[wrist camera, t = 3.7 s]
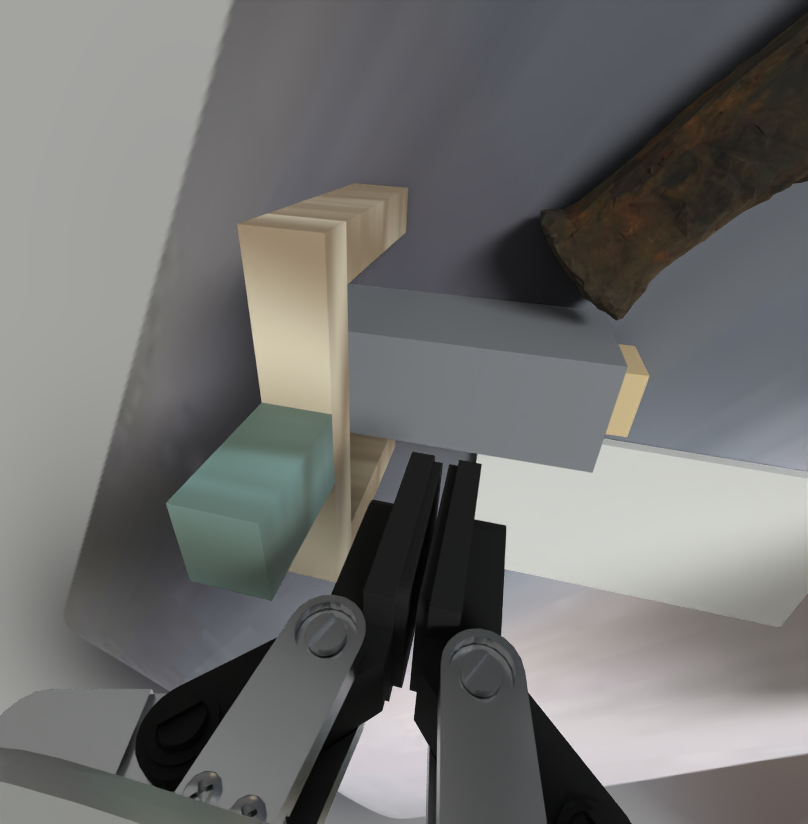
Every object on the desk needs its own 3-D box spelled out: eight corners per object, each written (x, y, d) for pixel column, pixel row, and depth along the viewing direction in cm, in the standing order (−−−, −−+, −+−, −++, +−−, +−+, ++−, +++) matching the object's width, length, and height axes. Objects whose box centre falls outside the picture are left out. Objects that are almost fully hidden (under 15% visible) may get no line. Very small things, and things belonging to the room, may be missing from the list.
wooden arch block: (354, 183, 17) (94, 273, 7) (408, 187, 16) (219, 290, 6) (356, 438, 23) (222, 684, 13) (395, 445, 23) (289, 704, 13)
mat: (483, 418, 21) (482, 424, 21) (884, 484, 18) (892, 492, 18) (460, 552, 26) (459, 559, 25) (774, 618, 23) (779, 627, 23)
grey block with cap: (308, 277, 20) (249, 318, 15) (634, 312, 17) (668, 371, 13) (314, 362, 22) (264, 418, 18) (606, 403, 20) (627, 478, 15)
